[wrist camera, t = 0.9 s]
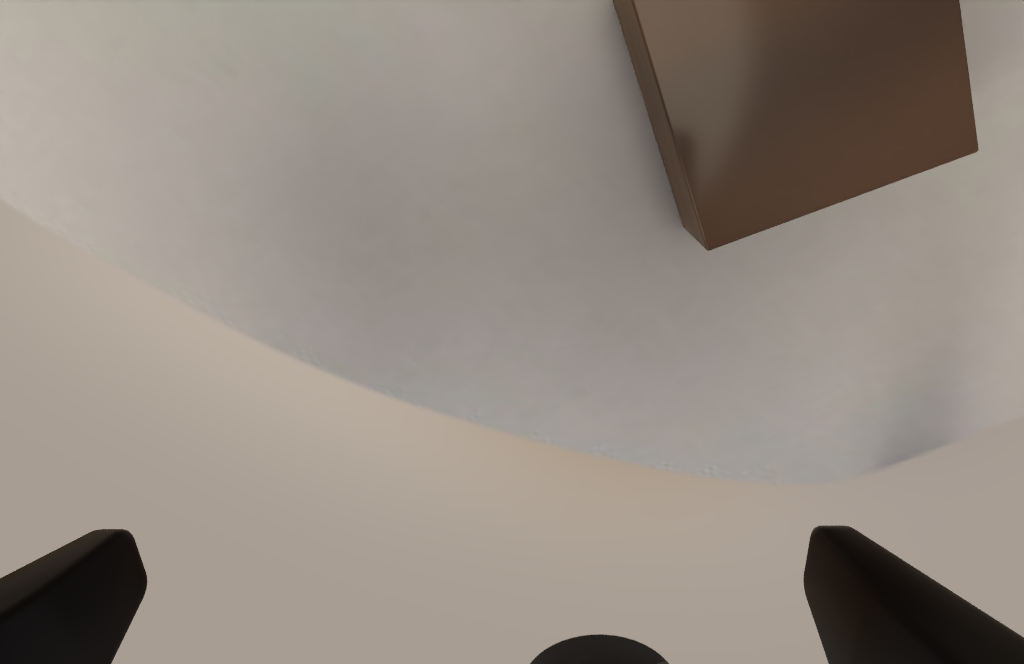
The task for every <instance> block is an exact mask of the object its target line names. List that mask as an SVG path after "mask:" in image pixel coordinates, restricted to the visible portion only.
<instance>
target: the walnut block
mask: <svg viewBox="0 0 1024 664" xmlns="http://www.w3.org/2000/svg"><path fill="white" fill-rule="evenodd" d="M613 3H614V6H615V9H616V12H617V15H618V19H619V22H620V25H621V28H622V31H623V35H624V38H625V41H626V44H627V47H628V51H629V54H630V57H631V60H632V63H633V67H634V70H635V73H636V76H637V79H638V83H639V86H640V89H641V92H642V95H643V99H644V102H645V105H646V108H647V111H648V115H649V118H650V121H651V124H652V127H653V131H654V134H655V137H656V140H657V144H658V147H659V150H660V153H661V156H662V160H663V163H664V166H665V169H666V172H667V176H668V179H669V182H670V185H671V188H672V192H673V195H674V198H675V201H676V204H677V208H678V211H679V214H680V217H681V220H682V224H683V227H684V228H685V229H686V230H687V231H688V232H689V233H690V234H691V235H692V236H693V237H694V238H695V239H696V240H697V241H698V242H699V243H700V244H701V245H702V246H703V247H704V248H705V249H706V250H712V249H714V248H717V247H720V246H723V245H725V244H728V243H731V242H733V241H736V240H739V239H742V238H744V237H747V236H750V235H752V234H755V233H758V232H761V231H763V230H766V229H769V228H771V227H774V226H777V225H780V224H782V223H785V222H788V221H790V220H793V219H796V218H799V217H801V216H804V215H807V214H809V213H812V212H815V211H818V210H820V209H823V208H826V207H828V206H831V205H834V204H837V203H839V202H842V201H845V200H847V199H850V198H853V197H856V196H858V195H861V194H864V193H866V192H869V191H872V190H875V189H877V188H880V187H883V186H885V185H888V184H891V183H894V182H896V181H899V180H902V179H904V178H907V177H910V176H913V175H915V174H918V173H921V172H923V171H926V170H929V169H931V168H934V167H937V166H940V165H942V164H945V163H948V162H950V161H953V160H956V159H959V158H961V157H964V156H967V155H969V154H972V153H975V152H977V151H978V142H977V135H976V127H975V119H974V111H973V104H972V96H971V88H970V81H969V73H968V65H967V57H966V50H965V42H964V34H963V26H962V19H961V11H960V3H959V0H613Z"/></svg>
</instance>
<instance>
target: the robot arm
mask: <svg viewBox="0 0 1024 664" xmlns="http://www.w3.org/2000/svg"><path fill="white" fill-rule="evenodd" d="M146 587H147V576H146V572H145V569H144V566H143V563H142V560H141V557H140V554H139V551H138V548H137V545H136V542H135V539H134V537H133V536H132V534H131V533H130V532H129V531H127V530H123V529H102V530H95V531H92V532H90V533H88V534H86V535H84V536H82V537H80V538H78V539H77V540H74V541H72V542H71V543H69V544H67V545H65V546H63V547H61V548H59V549H57V550H55V551H53V552H51V553H49V554H47V555H45V556H43V557H41V558H39V559H37V560H35V561H33V562H32V563H30V564H28V565H26V566H24V567H22V568H20V569H18V570H16V571H14V572H12V573H10V574H8V575H6V576H5V577H3V578H0V664H111V663H112V661H113V659H114V657H115V655H116V653H117V650H118V648H119V646H120V644H121V642H122V640H123V638H124V636H125V634H126V632H127V630H128V628H129V626H130V624H131V622H132V620H133V618H134V616H135V614H136V611H137V609H138V607H139V605H140V603H141V601H142V599H143V597H144V594H145V591H146ZM804 589H805V594H806V597H807V600H808V603H809V606H810V609H811V612H812V615H813V618H814V621H815V624H816V627H817V630H818V633H819V636H820V639H821V642H822V645H823V647H824V651H825V653H826V657H827V660H828V663H829V664H1024V637H1022V636H1020V635H1019V634H1017V633H1016V632H1014V631H1013V630H1011V629H1009V628H1008V627H1006V626H1005V625H1003V624H1002V623H1000V622H999V621H997V620H995V619H994V618H992V617H991V616H989V615H988V614H986V613H984V612H983V611H981V610H980V609H978V608H977V607H975V606H974V605H972V604H970V603H969V602H967V601H966V600H964V599H963V598H961V597H960V596H958V595H956V594H955V593H953V592H952V591H950V590H949V589H947V588H946V587H944V586H942V585H941V584H939V583H938V582H936V581H935V580H933V579H931V578H930V577H928V576H927V575H925V574H924V573H922V572H921V571H919V570H917V569H916V568H914V567H913V566H911V565H910V564H908V563H906V562H905V561H903V560H902V559H900V558H899V557H897V556H896V555H894V554H892V553H891V552H889V551H888V550H886V549H884V548H883V547H882V546H880V545H878V544H877V543H875V542H874V541H872V540H870V539H869V538H867V537H866V536H864V535H863V534H861V533H860V532H858V531H857V530H855V529H853V528H851V527H849V526H818V527H816V528H814V529H813V531H812V534H811V537H810V542H809V548H808V555H807V560H806V566H805V571H804Z"/></svg>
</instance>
